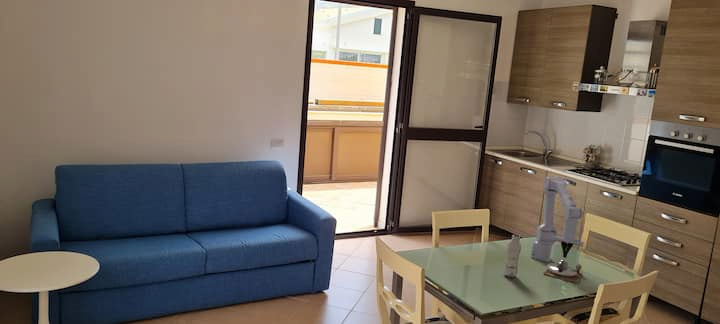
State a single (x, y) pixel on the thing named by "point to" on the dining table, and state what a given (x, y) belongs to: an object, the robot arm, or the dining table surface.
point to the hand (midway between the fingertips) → (564, 257)
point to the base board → (570, 279)
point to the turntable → (561, 270)
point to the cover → (563, 263)
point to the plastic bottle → (512, 257)
